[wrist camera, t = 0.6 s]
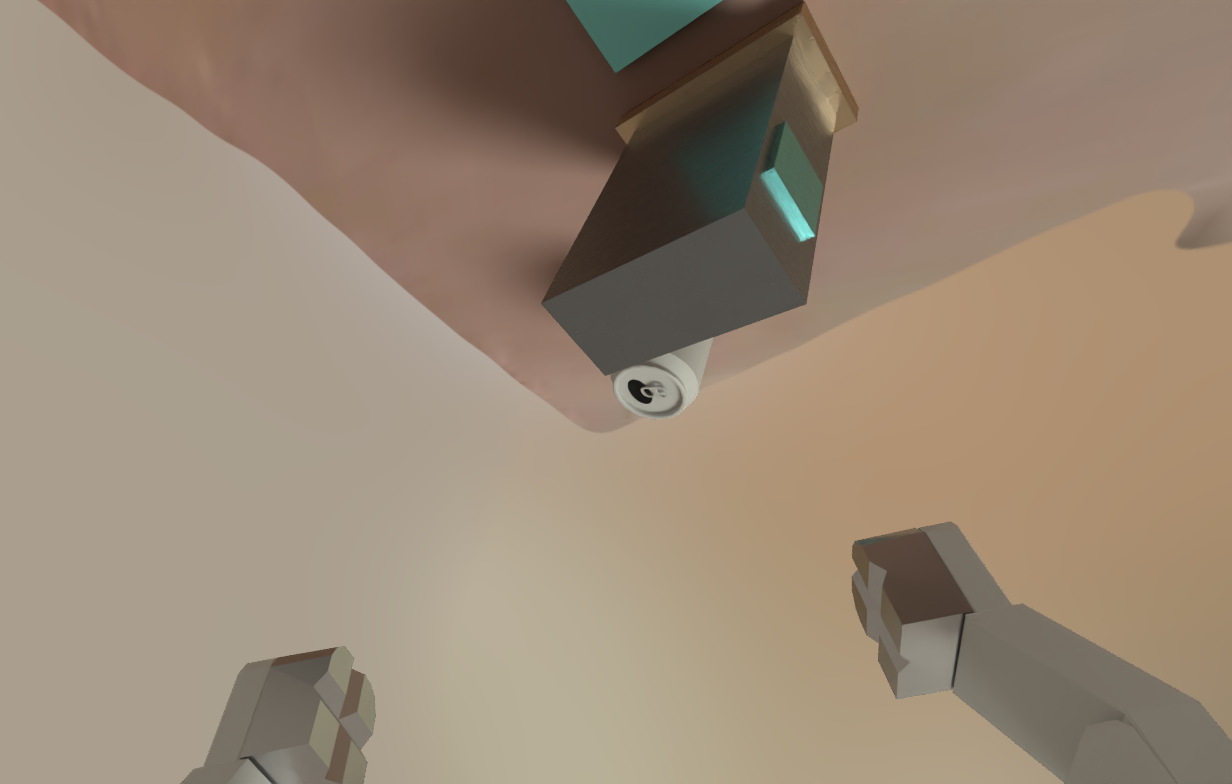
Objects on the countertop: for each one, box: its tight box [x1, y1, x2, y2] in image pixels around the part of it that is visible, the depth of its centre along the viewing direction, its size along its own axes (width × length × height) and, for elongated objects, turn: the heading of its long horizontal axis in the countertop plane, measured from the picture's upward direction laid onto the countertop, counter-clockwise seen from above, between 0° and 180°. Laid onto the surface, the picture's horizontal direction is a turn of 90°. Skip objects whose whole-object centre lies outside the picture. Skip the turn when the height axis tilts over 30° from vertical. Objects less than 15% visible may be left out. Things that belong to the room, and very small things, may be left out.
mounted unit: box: [541, 2, 858, 376], centre depth 45 cm, size 15×8×22 cm, turn 128°
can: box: [611, 338, 713, 419], centre depth 62 cm, size 8×8×12 cm
